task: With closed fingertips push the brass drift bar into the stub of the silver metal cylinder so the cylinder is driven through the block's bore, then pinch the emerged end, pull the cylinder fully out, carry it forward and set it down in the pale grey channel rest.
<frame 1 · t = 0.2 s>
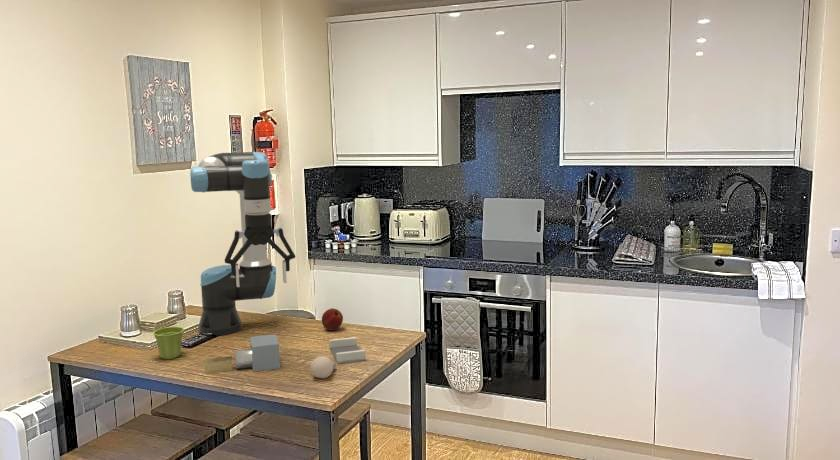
hand: (261, 284, 194), 28 cm above the table, fingers open, 13 cm apart
silver metal cylinder: (255, 366, 204), on the table
drift: (219, 370, 201), on the table
beige ball knob: (325, 375, 196), on the table
block: (265, 364, 205), on the table
plant pot: (170, 356, 213), on the table
rest: (347, 354, 212), on the table
apple: (332, 330, 239), on the table
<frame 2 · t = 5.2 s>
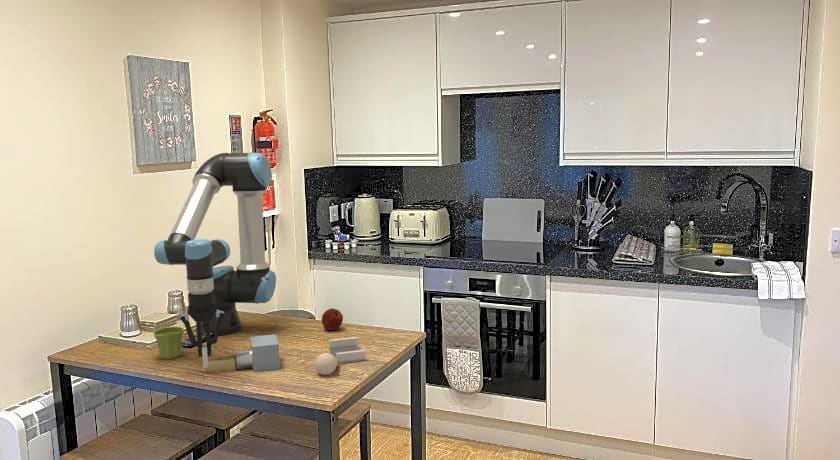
hand: (205, 366, 199), 2 cm above the table, fingers closed
silver metal cylinder: (256, 365, 204), on the table, tilted 10°, touching drift
drift: (222, 369, 201), on the table, touching silver metal cylinder, gripper
beige ball knob: (329, 372, 198), on the table
everything else where it was.
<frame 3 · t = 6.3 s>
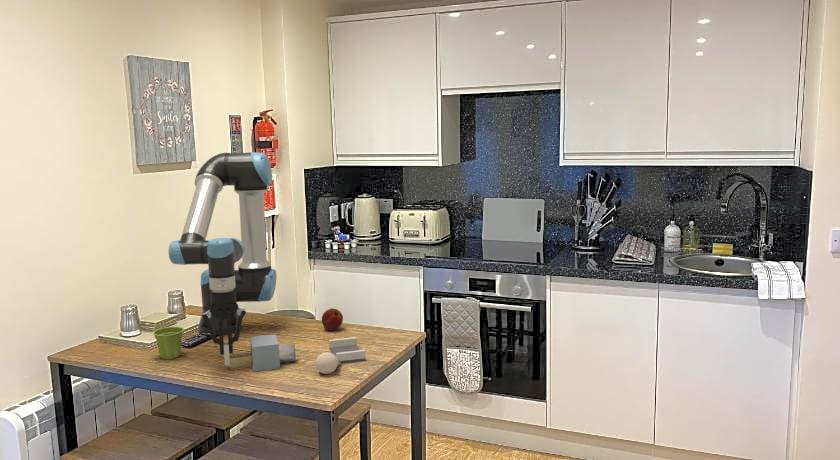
hand: (227, 363, 201), 2 cm above the table, fingers closed
silver metal cylinder: (275, 362, 206), on the table, tilted 8°, touching drift
drift: (243, 366, 203), on the table, touching silver metal cylinder, gripper
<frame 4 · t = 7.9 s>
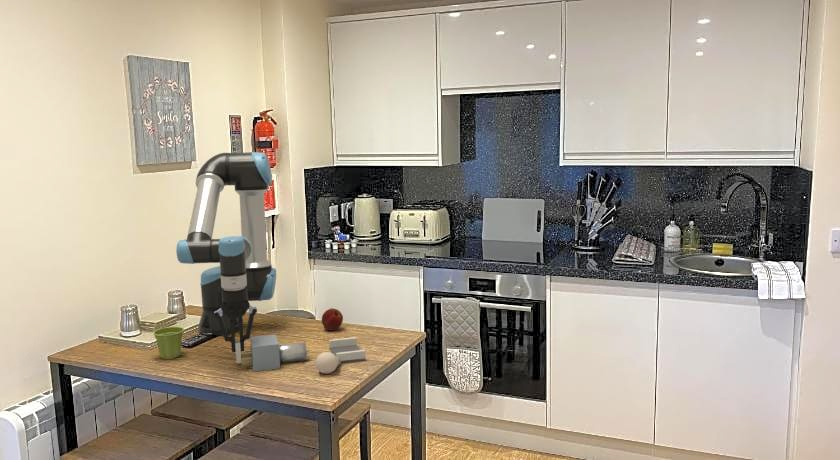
hand: (238, 361, 202), 2 cm above the table, fingers closed
silver metal cylinder: (286, 361, 208), on the table, tilted 7°
drift: (254, 365, 204), on the table
everything else where it was.
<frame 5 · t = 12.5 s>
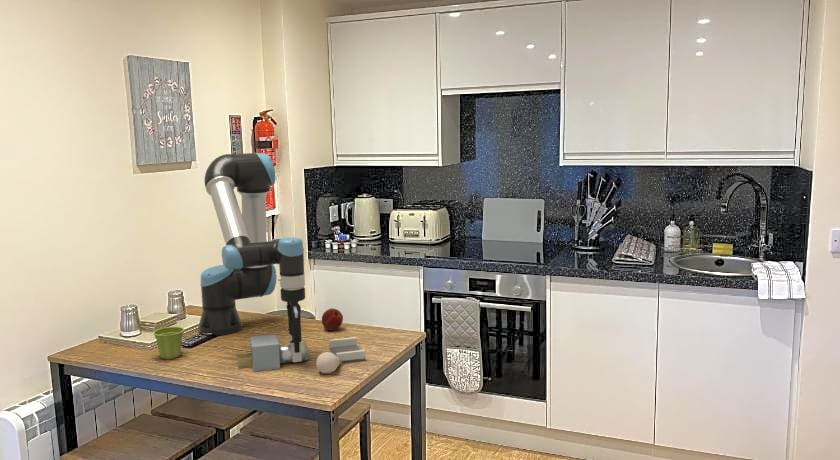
hand: (295, 358, 207), 1 cm above the table, fingers closed on silver metal cylinder, 6 cm apart
silver metal cylinder: (287, 359, 208), on the table, tilted 24°, touching gripper
drift: (251, 365, 204), on the table
everything else where it was.
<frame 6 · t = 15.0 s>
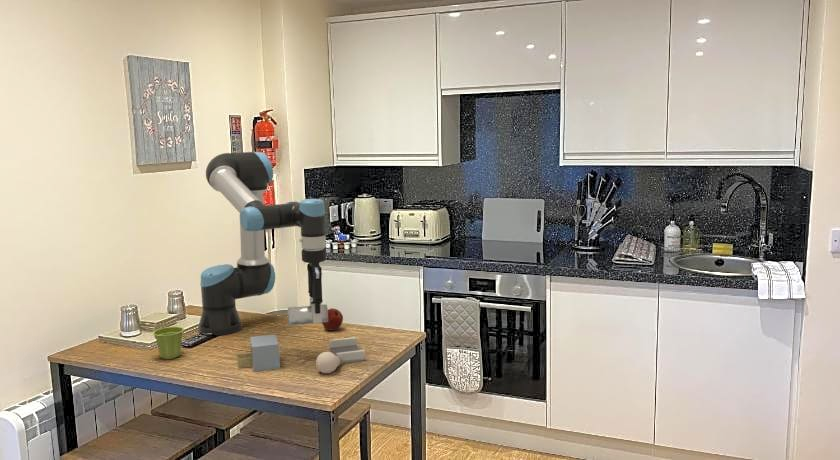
hand: (316, 319, 208), 13 cm above the table, fingers closed on silver metal cylinder, 6 cm apart
silver metal cylinder: (307, 321, 208), point 12 cm above the table, tilted 25°, touching gripper
when the fingers open (3 cm above the table, at t = 17.7 s): silver metal cylinder drops 1 cm, resting on rest.
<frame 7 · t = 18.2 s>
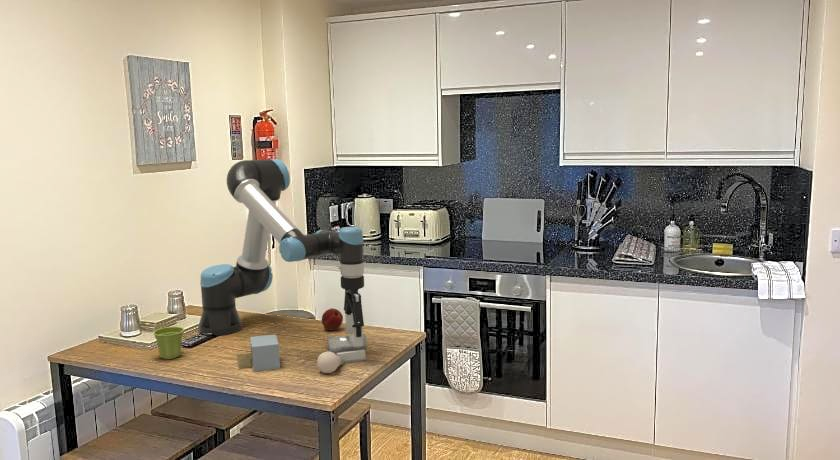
hand: (354, 339, 212), 5 cm above the table, fingers open, 12 cm apart
silver metal cylinder: (346, 350, 213), point 1 cm above the table, tilted 26°, touching rest
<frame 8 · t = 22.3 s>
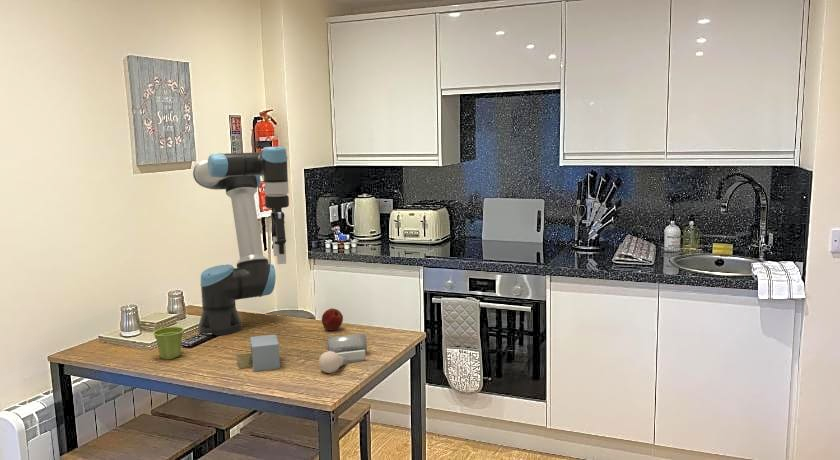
hand: (279, 259, 213), 31 cm above the table, fingers open, 13 cm apart
at the end: silver metal cylinder inside the target area on the rest (1.2 cm from its centre), point 1.1 cm above the rest's base; silver metal cylinder inside the target area on the table beside the block (9.6 cm from its centre), point 1.1 cm above the table; the gripper is holding nothing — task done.
